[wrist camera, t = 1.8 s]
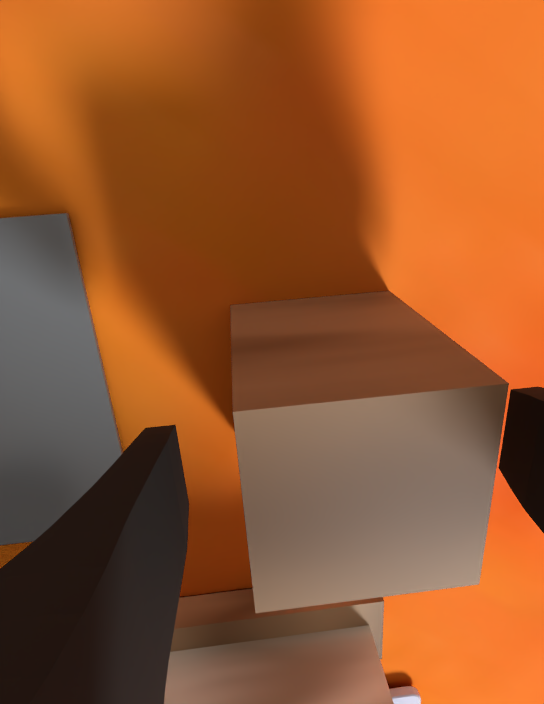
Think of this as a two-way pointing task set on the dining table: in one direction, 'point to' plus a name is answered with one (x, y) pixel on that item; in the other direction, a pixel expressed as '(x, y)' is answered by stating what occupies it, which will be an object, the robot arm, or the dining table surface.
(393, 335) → the walnut block
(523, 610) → the dining table surface
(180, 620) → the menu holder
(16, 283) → the coaster
